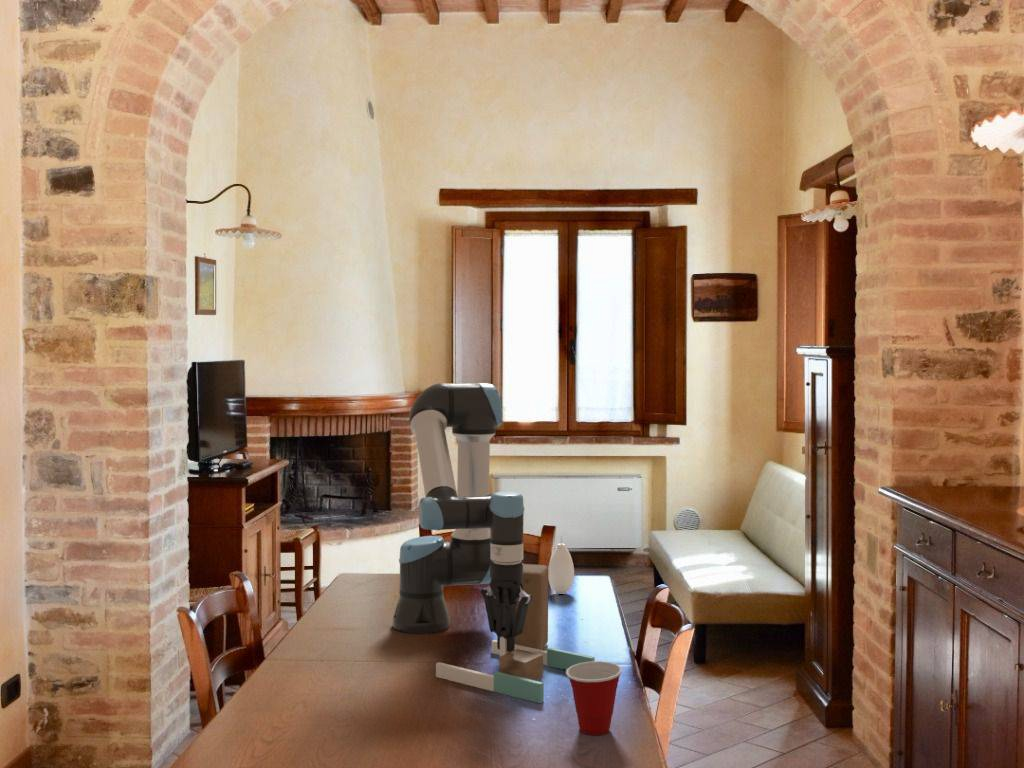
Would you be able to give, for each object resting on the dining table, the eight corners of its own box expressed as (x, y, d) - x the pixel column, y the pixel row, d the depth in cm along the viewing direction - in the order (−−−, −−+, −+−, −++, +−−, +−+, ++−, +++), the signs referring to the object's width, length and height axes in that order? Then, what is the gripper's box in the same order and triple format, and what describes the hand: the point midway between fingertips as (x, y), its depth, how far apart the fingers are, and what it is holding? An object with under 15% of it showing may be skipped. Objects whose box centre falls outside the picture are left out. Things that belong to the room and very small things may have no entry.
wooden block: (540, 655, 231) (541, 573, 231) (500, 652, 234) (500, 570, 233) (548, 643, 241) (549, 564, 241) (509, 640, 244) (510, 562, 243)
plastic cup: (561, 719, 191) (562, 660, 190) (615, 718, 192) (616, 658, 191) (569, 741, 180) (570, 678, 180) (626, 740, 181) (627, 677, 181)
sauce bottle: (544, 592, 294) (545, 533, 294) (569, 590, 296) (569, 532, 295) (552, 598, 286) (552, 538, 286) (577, 596, 288) (577, 537, 288)
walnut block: (499, 679, 215) (499, 656, 215) (517, 670, 221) (517, 649, 221) (525, 685, 211) (525, 662, 211) (542, 676, 217) (542, 654, 217)
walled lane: (435, 676, 216) (435, 659, 216) (494, 651, 234) (494, 635, 234) (540, 703, 200) (540, 684, 200) (594, 674, 218) (594, 657, 218)
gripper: (473, 560, 218) (472, 663, 219) (520, 567, 211) (519, 674, 211) (493, 555, 224) (492, 655, 225) (539, 562, 217) (538, 665, 218)
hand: (505, 664), depth 218 cm, fingers closed
